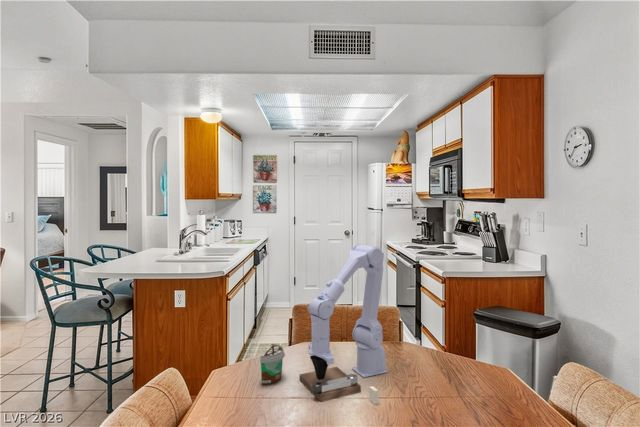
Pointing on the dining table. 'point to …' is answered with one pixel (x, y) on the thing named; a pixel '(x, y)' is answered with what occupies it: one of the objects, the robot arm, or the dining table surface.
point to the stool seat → (330, 375)
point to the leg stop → (373, 395)
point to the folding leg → (334, 384)
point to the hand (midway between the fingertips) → (320, 378)
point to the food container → (272, 365)
